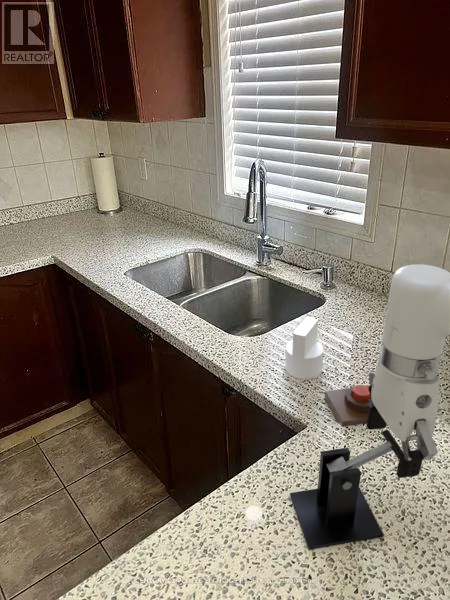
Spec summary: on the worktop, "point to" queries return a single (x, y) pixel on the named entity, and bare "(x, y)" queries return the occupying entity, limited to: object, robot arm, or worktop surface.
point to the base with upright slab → (304, 351)
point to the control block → (347, 407)
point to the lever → (367, 454)
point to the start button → (361, 393)
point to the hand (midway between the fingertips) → (390, 449)
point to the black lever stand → (335, 507)
